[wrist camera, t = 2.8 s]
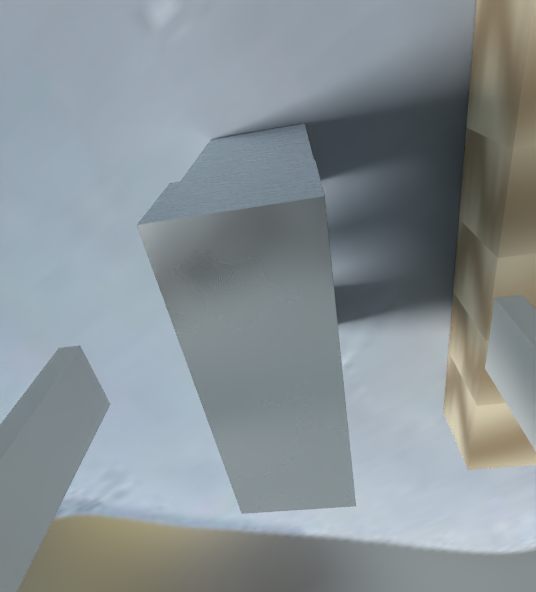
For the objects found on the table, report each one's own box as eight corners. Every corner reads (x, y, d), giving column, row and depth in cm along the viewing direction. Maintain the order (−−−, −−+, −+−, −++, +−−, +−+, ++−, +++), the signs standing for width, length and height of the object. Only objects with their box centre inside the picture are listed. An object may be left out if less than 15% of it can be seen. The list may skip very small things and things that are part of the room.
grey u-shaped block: (209, 133, 17) (136, 225, 9) (303, 116, 17) (324, 196, 8) (257, 338, 23) (242, 513, 14) (328, 330, 22) (355, 505, 14)
